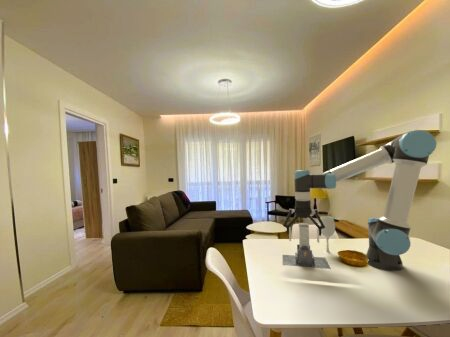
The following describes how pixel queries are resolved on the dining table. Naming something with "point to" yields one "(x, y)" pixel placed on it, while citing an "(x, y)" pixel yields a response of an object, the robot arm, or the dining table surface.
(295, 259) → the stand base
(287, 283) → the dining table surface
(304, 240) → the column
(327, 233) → the wineglass
